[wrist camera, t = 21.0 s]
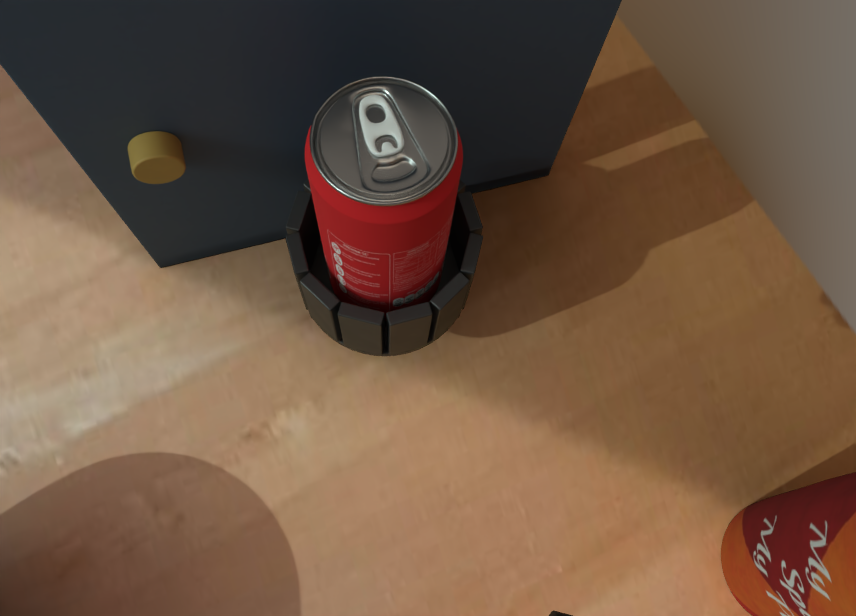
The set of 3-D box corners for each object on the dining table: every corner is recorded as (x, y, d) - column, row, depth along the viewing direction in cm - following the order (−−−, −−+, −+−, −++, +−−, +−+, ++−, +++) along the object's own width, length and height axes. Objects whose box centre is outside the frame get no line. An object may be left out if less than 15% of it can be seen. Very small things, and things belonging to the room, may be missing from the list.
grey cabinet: (497, 42, 44) (612, -496, 22) (603, 320, 39) (906, -11, 16) (131, 118, 41) (-180, -414, 19) (191, 432, 36) (-147, 218, 13)
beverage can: (346, 341, 33) (325, 229, 22) (317, 241, 35) (284, 88, 23) (454, 311, 34) (487, 188, 23) (421, 214, 35) (437, 53, 24)
